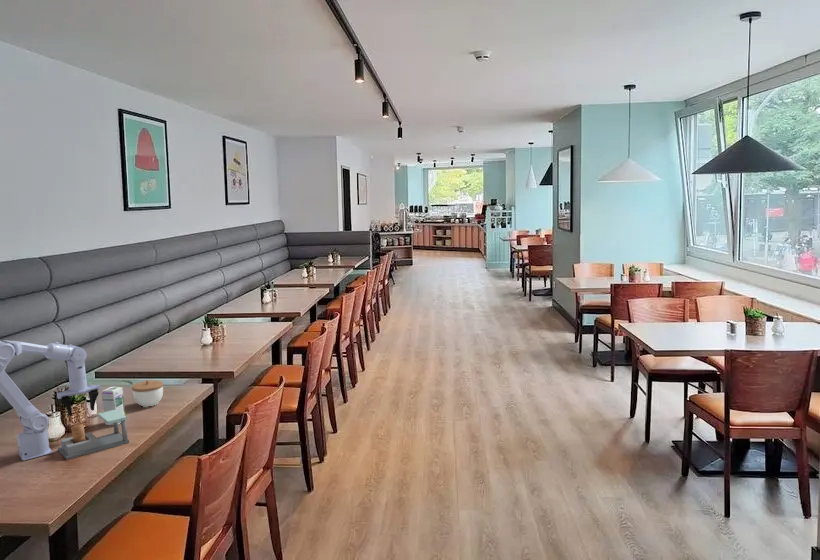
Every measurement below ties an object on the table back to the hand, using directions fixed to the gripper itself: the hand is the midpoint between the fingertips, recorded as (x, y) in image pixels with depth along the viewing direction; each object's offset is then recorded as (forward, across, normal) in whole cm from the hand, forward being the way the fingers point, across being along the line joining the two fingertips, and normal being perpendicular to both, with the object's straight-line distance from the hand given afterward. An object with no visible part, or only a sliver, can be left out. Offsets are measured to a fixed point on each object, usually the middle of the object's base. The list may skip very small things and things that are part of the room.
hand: (81, 412), depth 235 cm
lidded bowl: (+11, +32, +22) cm, 40 cm away
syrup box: (+11, +14, +9) cm, 20 cm away
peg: (+9, -4, -11) cm, 15 cm away
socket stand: (+10, 0, -11) cm, 15 cm away
